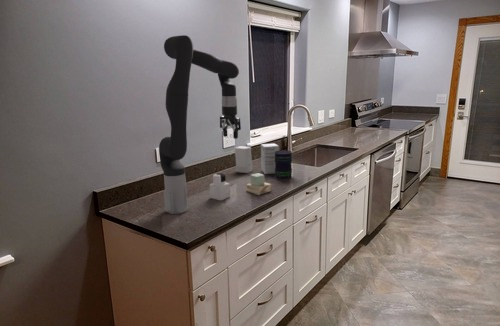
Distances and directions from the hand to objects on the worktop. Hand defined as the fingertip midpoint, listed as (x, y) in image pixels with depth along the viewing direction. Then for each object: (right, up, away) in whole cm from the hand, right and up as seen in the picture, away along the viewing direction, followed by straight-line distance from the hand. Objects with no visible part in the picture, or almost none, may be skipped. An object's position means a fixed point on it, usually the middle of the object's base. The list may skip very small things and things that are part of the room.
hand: (230, 137), depth 179 cm
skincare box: (+6, -19, +40) cm, 45 cm away
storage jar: (+29, -21, +26) cm, 45 cm away
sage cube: (+14, -24, +2) cm, 28 cm away
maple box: (+15, -28, +3) cm, 32 cm away
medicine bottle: (-5, -30, -5) cm, 31 cm away
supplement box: (+22, -19, +38) cm, 48 cm away
